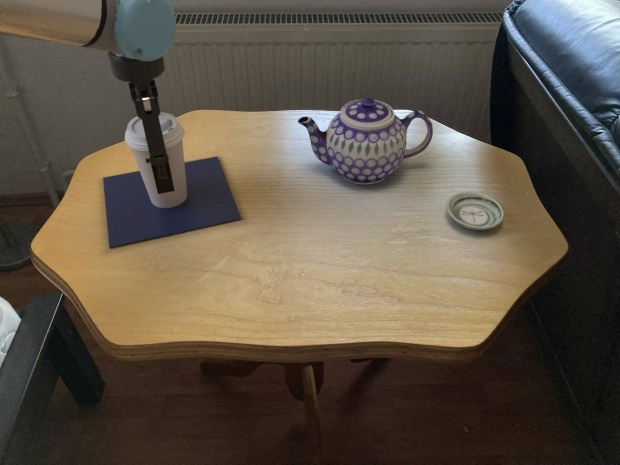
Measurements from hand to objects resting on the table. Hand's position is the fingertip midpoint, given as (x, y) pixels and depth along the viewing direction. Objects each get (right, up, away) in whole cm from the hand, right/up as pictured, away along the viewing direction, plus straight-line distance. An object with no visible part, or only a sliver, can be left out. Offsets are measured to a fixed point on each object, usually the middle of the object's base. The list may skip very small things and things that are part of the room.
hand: (160, 168), depth 88 cm
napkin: (0, -5, +5) cm, 7 cm away
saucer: (+54, -9, +1) cm, 55 cm away
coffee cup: (0, -5, +5) cm, 7 cm away
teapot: (+36, +1, +12) cm, 38 cm away
